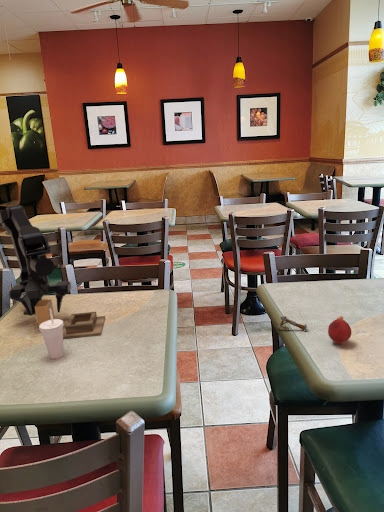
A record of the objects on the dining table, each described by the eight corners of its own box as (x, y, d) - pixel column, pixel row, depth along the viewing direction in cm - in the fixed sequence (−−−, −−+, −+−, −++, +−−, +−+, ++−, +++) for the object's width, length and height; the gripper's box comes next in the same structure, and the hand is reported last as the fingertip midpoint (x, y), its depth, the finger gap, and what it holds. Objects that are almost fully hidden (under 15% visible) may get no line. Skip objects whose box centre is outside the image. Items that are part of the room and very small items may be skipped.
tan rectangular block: (42, 319, 136) (39, 300, 134) (54, 317, 136) (51, 299, 134) (38, 326, 130) (34, 306, 128) (50, 325, 131) (47, 305, 129)
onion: (339, 351, 102) (340, 323, 100) (323, 342, 107) (323, 315, 105) (355, 345, 104) (356, 317, 102) (338, 337, 109) (339, 310, 107)
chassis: (66, 322, 132) (64, 313, 131) (105, 318, 133) (104, 309, 132) (57, 339, 119) (55, 329, 119) (100, 335, 120) (99, 325, 120)
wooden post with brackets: (274, 326, 117) (281, 313, 115) (300, 336, 116) (306, 323, 115) (275, 329, 115) (281, 316, 113) (300, 339, 114) (307, 326, 113)
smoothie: (61, 362, 106) (52, 314, 103) (39, 360, 108) (31, 313, 104) (72, 350, 112) (65, 304, 109) (52, 349, 114) (44, 304, 110)
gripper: (-2, 279, 120) (8, 326, 124) (60, 274, 121) (68, 320, 126) (11, 269, 131) (19, 312, 135) (68, 264, 132) (74, 307, 136)
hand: (45, 313), depth 133 cm, fingers open, 9 cm apart
